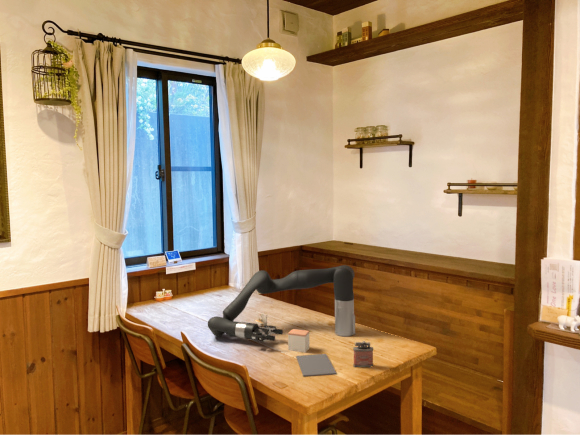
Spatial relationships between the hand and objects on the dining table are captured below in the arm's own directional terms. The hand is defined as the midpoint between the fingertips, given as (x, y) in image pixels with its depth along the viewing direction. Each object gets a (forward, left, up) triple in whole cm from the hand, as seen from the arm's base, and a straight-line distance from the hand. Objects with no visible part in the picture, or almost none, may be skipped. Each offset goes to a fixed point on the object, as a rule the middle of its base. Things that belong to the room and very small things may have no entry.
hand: (278, 335), depth 201 cm
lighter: (-32, +26, -6) cm, 41 cm away
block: (-9, +4, -5) cm, 11 cm away
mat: (-13, +22, -5) cm, 26 cm away
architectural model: (+5, -28, -6) cm, 29 cm away
